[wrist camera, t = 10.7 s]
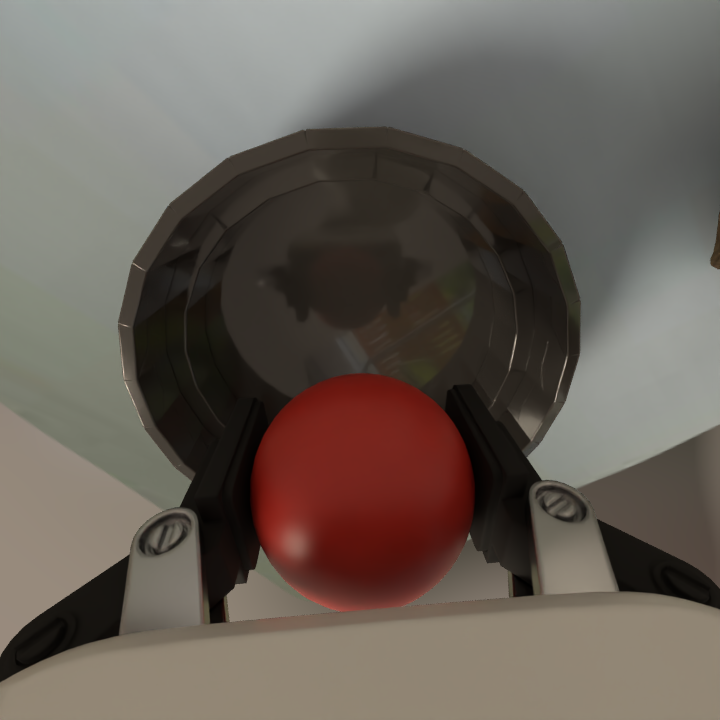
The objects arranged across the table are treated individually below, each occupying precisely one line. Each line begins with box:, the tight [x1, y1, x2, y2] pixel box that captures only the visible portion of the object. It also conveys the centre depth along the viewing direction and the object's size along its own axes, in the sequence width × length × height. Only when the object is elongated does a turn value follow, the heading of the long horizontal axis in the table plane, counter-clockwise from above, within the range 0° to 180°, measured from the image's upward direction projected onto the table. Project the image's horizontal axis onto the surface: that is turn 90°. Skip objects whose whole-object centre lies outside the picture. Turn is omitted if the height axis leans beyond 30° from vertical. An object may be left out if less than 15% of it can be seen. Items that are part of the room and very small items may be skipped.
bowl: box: [118, 126, 581, 481], centre depth 16 cm, size 17×17×6 cm
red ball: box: [250, 373, 475, 612], centre depth 10 cm, size 6×6×6 cm
